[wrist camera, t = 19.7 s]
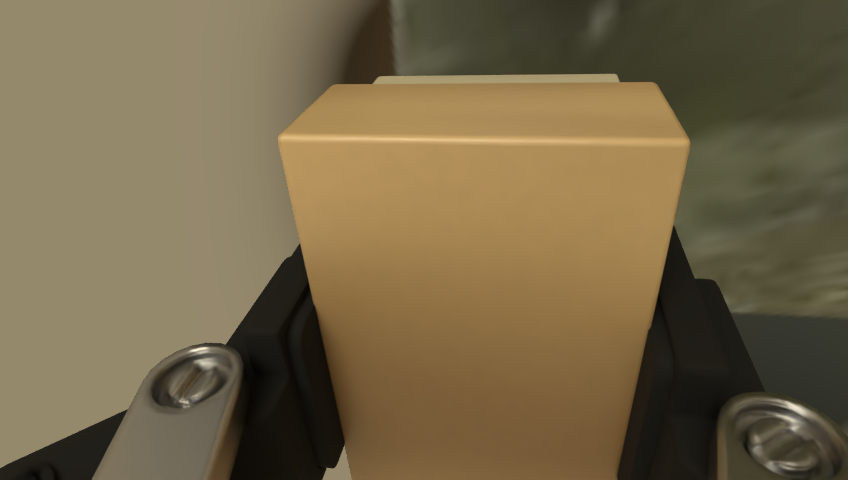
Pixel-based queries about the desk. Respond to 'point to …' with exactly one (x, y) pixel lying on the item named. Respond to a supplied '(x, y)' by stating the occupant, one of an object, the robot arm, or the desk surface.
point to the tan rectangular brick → (485, 266)
